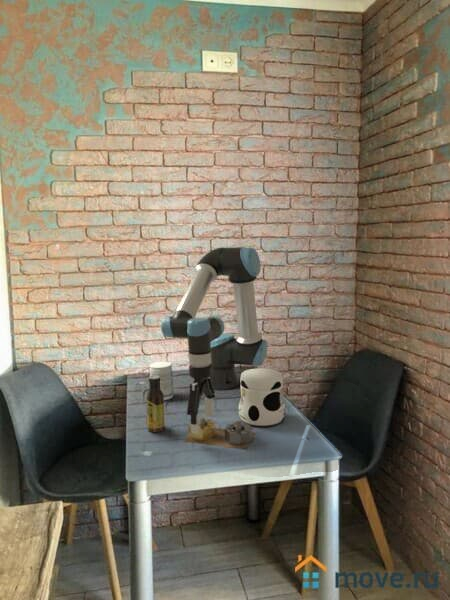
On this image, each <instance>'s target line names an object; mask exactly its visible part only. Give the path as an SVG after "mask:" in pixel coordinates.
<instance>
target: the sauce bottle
mask: <svg viewBox="0 0 450 600" xmlns="http://www.w3.org/2000/svg"><path fill="white" fill-rule="evenodd" d="M148 382H149V383H148V384H149V386H148V387H149V388H148V392H147V396H146V401H145V402H146V422H147V424H146V426H147V430H148V431H149V432H151V433H158V432H159V433H160V432H162V431H163V430H165V425H166V424H165V400H164V395H163V392H162V391H161V389H160V376H158V375H153V376H150V375H149V377H148Z"/></svg>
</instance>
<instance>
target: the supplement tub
mask: <svg viewBox="0 0 450 600" xmlns="http://www.w3.org/2000/svg"><path fill="white" fill-rule="evenodd" d="M153 375H158V376H160V389H161V391H162V392H163V395H164V401H168V400H170V399H172V398H173V397H174V376H173V366H172V362H170V361H154V362H151V363H150V364H149V377H150V376H153Z"/></svg>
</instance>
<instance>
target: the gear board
mask: <svg viewBox="0 0 450 600" xmlns="http://www.w3.org/2000/svg"><path fill="white" fill-rule="evenodd" d="M205 419H206V418H205V417H201V416H200V417H199V426H201V427H203V426H205ZM234 423H235V426H236V431H242V427H241V423H242V421H237V420H236V421H235V422H234ZM256 435H257V433H254V432H252V436H253V439H252V441H251V442H250V444H246V445H242V446H236V445H230V444H228V443H227V442H226V441H225V429H220V428H216V435H215V436H214V437H213V439H209V440H205V441H198V440H192V439H191V438H190V437H189V435H187V437H186V438H185V439H184V440H183V442H185V443H193V444H199V445H208V446H216V447H223V448H224V447H225V448H232V449H238V450H239V449H240V450H248V449H249V447H250V445H251V443H252V442H253V441H254V438H255V436H256Z"/></svg>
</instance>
